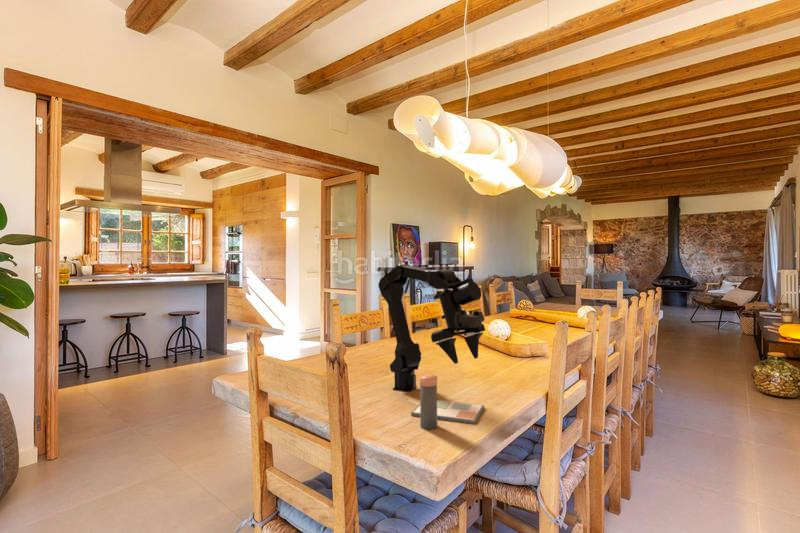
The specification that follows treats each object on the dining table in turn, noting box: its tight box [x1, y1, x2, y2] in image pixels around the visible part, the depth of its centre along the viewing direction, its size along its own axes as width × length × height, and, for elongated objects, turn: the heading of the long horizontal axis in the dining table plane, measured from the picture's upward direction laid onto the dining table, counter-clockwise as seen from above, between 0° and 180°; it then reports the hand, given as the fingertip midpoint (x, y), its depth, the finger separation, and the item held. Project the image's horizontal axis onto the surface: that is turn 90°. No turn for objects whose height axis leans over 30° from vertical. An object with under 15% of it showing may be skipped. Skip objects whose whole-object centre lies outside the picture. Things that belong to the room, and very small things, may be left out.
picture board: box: [410, 399, 485, 425], centre depth 118 cm, size 18×13×1 cm
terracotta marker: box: [419, 373, 438, 431], centre depth 108 cm, size 5×5×13 cm
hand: (466, 360), depth 121 cm, fingers open, 9 cm apart
